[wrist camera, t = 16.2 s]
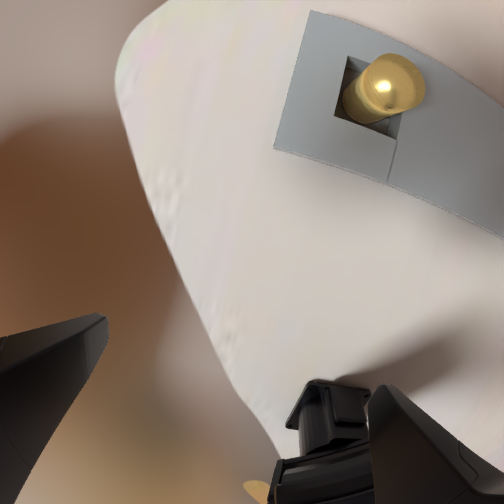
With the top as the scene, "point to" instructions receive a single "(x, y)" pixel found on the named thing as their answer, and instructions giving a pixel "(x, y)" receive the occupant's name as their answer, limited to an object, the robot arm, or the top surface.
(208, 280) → the top surface
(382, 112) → the pin
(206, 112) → the top surface
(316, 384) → the robot arm
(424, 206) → the top surface
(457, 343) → the top surface
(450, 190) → the board
